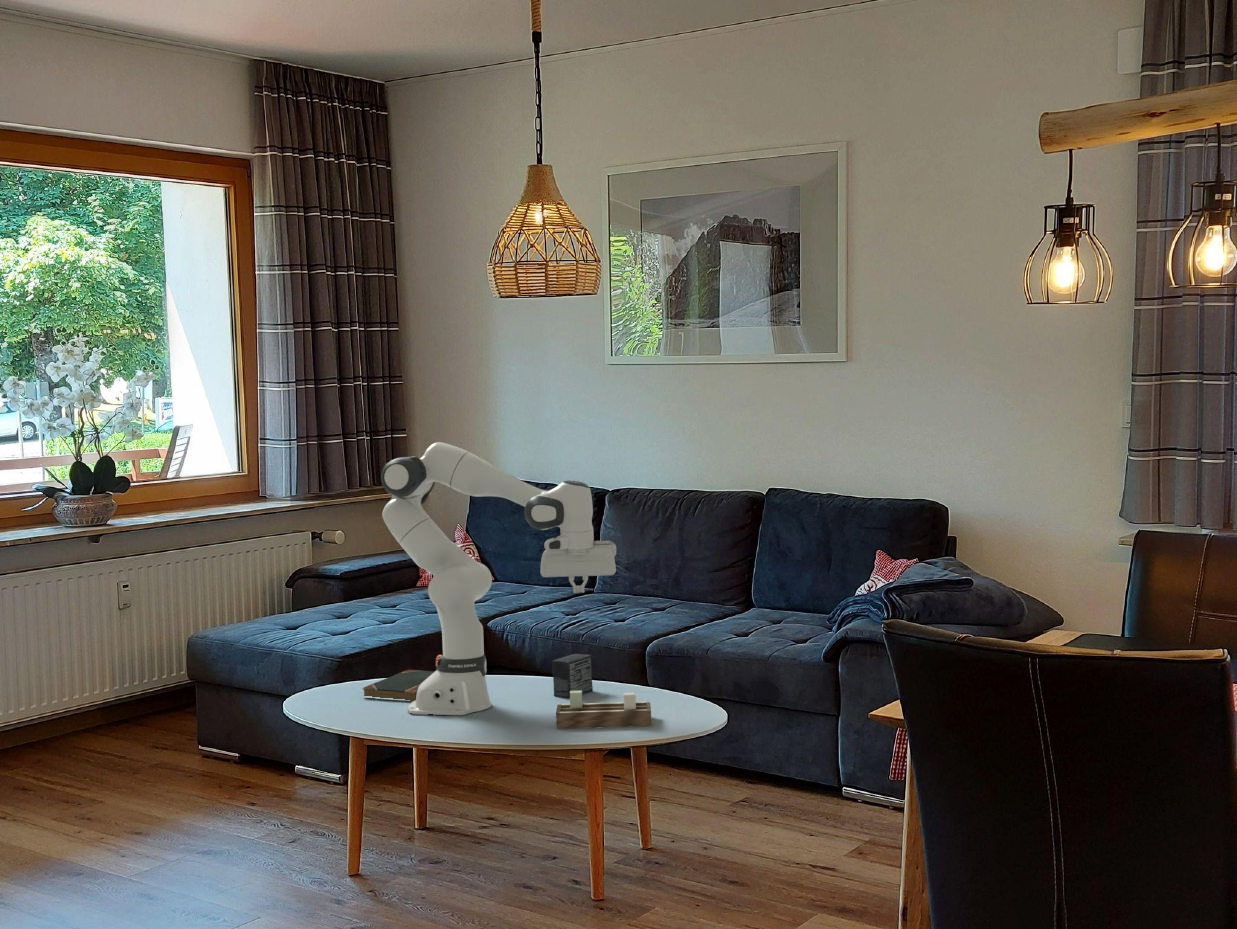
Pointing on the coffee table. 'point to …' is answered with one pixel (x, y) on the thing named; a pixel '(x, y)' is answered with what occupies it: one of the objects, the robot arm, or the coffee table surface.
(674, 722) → the coffee table surface
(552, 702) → the coffee table surface
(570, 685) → the small box
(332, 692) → the coffee table surface
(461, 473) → the robot arm
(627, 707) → the offwhite block
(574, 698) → the sage tab
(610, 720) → the wooden shelf rack
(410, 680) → the book
